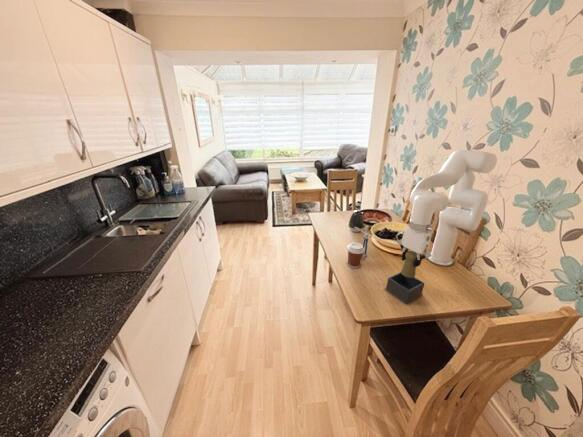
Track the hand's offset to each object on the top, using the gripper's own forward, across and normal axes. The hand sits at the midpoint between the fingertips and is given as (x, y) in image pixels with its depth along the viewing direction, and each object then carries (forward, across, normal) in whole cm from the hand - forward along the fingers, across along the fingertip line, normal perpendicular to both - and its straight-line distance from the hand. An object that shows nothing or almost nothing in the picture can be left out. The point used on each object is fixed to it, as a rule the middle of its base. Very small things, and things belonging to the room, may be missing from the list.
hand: (410, 262), depth 104 cm
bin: (+17, 0, 0) cm, 17 cm away
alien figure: (+17, +32, -6) cm, 37 cm away
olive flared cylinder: (+6, 0, 0) cm, 6 cm away
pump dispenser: (+17, +58, -28) cm, 67 cm away
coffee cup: (+17, +28, +4) cm, 33 cm away
